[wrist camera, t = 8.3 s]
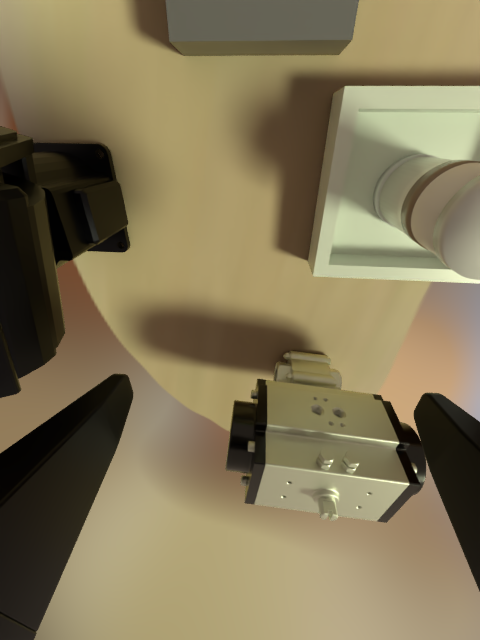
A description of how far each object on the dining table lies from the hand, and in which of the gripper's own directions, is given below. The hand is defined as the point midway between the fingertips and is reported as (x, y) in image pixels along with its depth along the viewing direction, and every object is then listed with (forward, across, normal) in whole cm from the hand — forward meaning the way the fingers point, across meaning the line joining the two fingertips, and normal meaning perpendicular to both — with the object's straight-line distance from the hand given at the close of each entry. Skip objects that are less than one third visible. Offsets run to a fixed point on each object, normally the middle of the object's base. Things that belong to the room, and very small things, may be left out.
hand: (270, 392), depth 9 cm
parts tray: (+13, -8, -4) cm, 16 cm away
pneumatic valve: (+13, -4, +10) cm, 17 cm away
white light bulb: (+12, -8, -4) cm, 15 cm away
